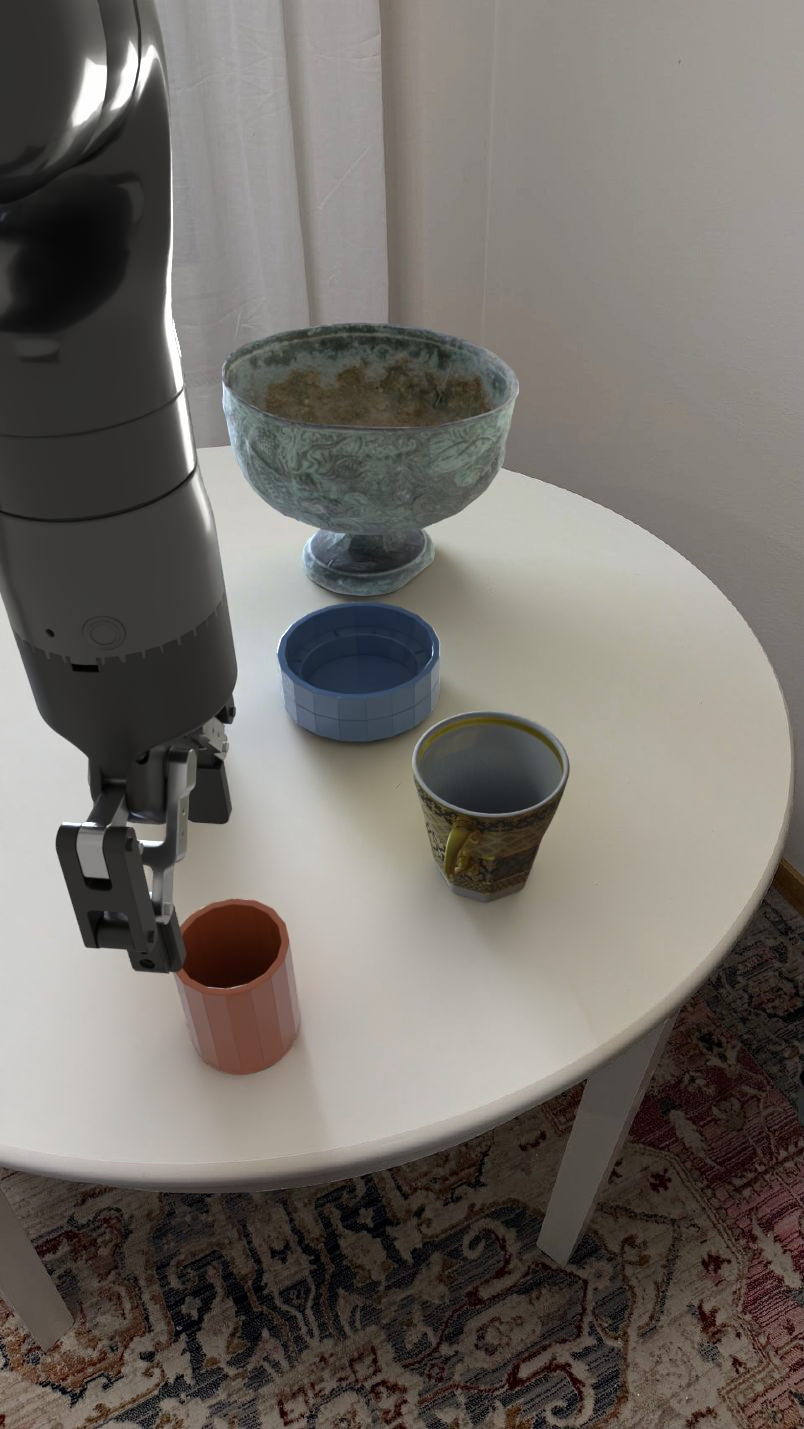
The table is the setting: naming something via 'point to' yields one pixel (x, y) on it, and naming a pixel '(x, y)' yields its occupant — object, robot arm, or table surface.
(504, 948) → the table surface
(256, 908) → the cup
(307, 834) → the table surface
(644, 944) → the table surface
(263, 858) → the table surface
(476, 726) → the ceramic cup
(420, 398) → the decorative bowl
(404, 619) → the bowl
